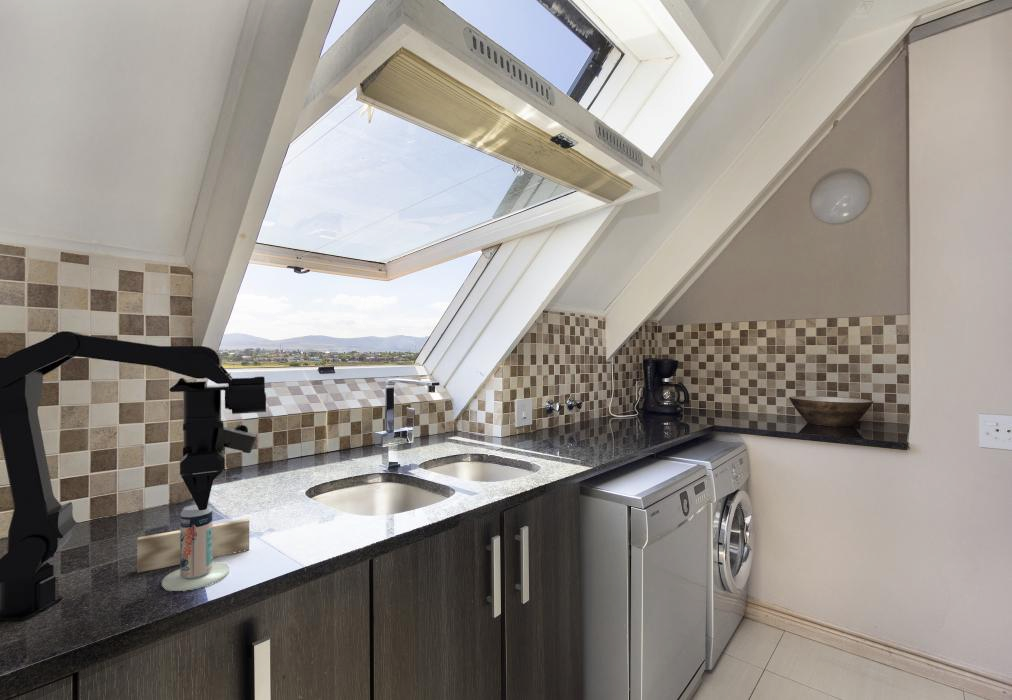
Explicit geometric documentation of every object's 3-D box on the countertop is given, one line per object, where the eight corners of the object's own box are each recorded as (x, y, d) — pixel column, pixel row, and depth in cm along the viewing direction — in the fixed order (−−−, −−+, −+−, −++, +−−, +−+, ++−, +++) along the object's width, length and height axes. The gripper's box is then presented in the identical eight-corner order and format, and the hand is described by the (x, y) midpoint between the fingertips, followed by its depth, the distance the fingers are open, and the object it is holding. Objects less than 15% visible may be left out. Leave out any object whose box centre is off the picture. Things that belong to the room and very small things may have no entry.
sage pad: (147, 591, 79) (147, 588, 79) (187, 565, 89) (187, 562, 89) (206, 591, 79) (206, 588, 79) (240, 565, 89) (240, 561, 89)
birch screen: (137, 572, 86) (137, 539, 86) (138, 569, 87) (138, 537, 87) (249, 550, 96) (249, 520, 96) (248, 547, 97) (248, 518, 97)
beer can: (177, 574, 84) (178, 506, 84) (208, 565, 87) (209, 500, 87) (182, 583, 80) (182, 513, 81) (214, 574, 84) (215, 506, 84)
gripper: (258, 417, 81) (258, 508, 81) (249, 408, 97) (249, 484, 97) (179, 423, 75) (179, 521, 75) (183, 412, 91) (183, 493, 91)
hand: (202, 502), depth 84 cm, fingers open, 9 cm apart
